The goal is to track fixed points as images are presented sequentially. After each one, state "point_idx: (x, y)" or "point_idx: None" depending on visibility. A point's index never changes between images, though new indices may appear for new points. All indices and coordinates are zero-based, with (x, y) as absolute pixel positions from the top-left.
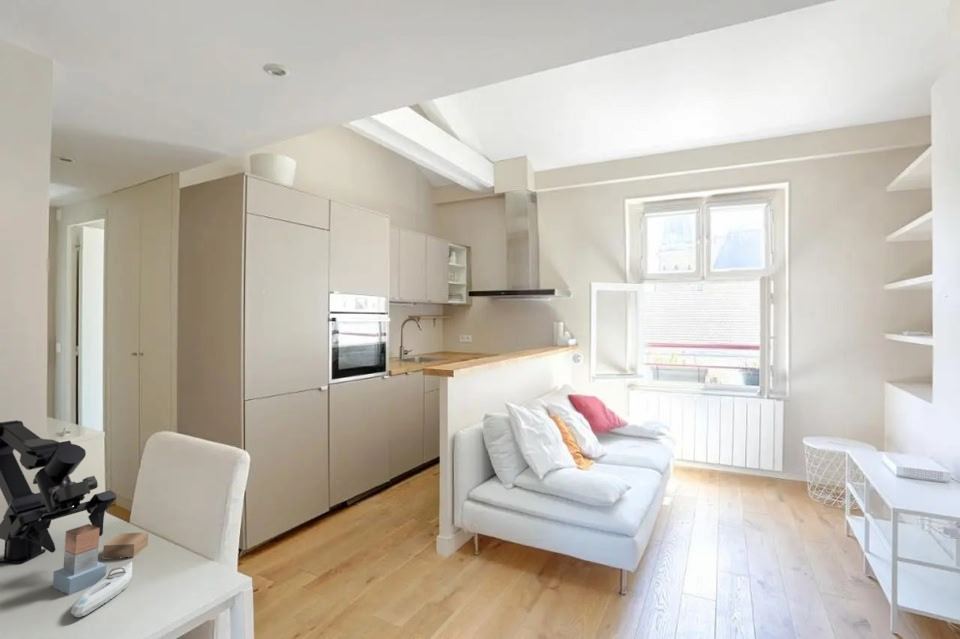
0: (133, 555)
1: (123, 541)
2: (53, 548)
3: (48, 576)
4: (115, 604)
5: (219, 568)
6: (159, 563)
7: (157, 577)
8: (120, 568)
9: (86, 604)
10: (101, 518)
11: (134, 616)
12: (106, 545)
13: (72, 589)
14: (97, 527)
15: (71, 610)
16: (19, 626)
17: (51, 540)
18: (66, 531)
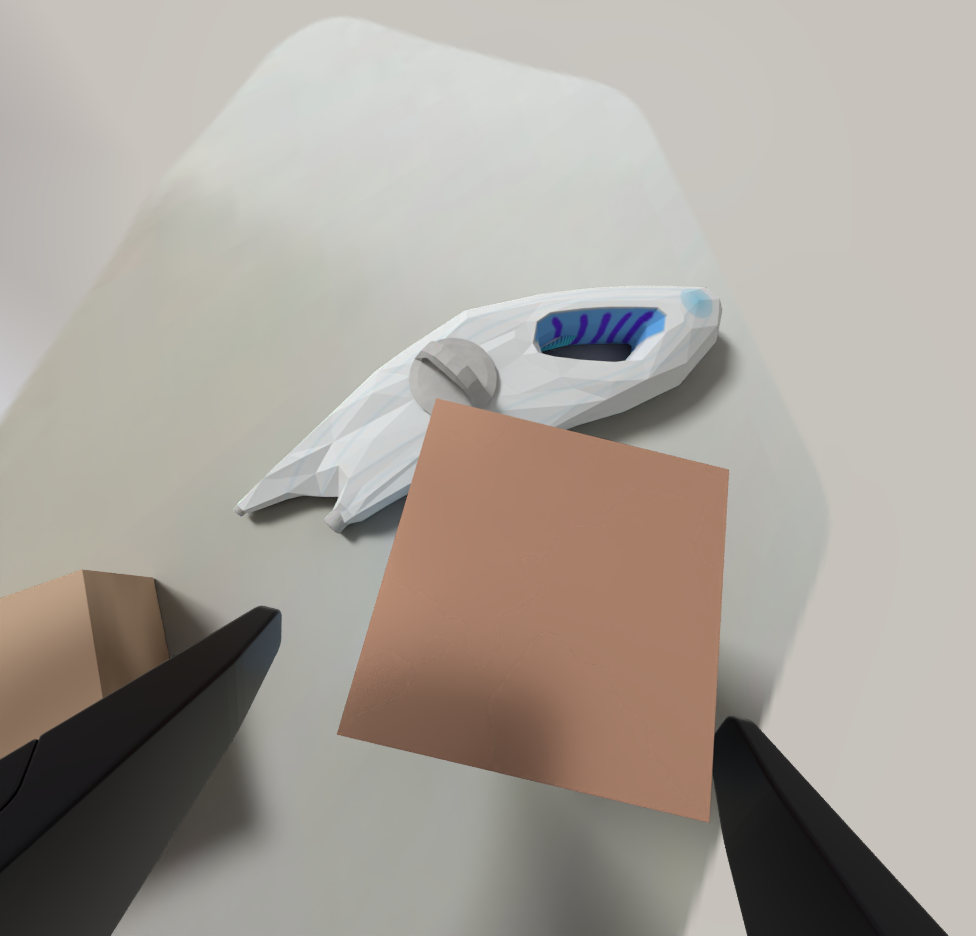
0: (144, 577)
1: (28, 711)
2: (759, 732)
3: (470, 907)
4: (569, 289)
5: (230, 115)
6: (212, 376)
7: (348, 288)
8: (444, 347)
9: (693, 287)
10: (26, 777)
11: (601, 181)
12: None
13: None
14: (429, 443)
15: (704, 354)
16: (807, 501)
17: (827, 846)
18: (707, 799)
